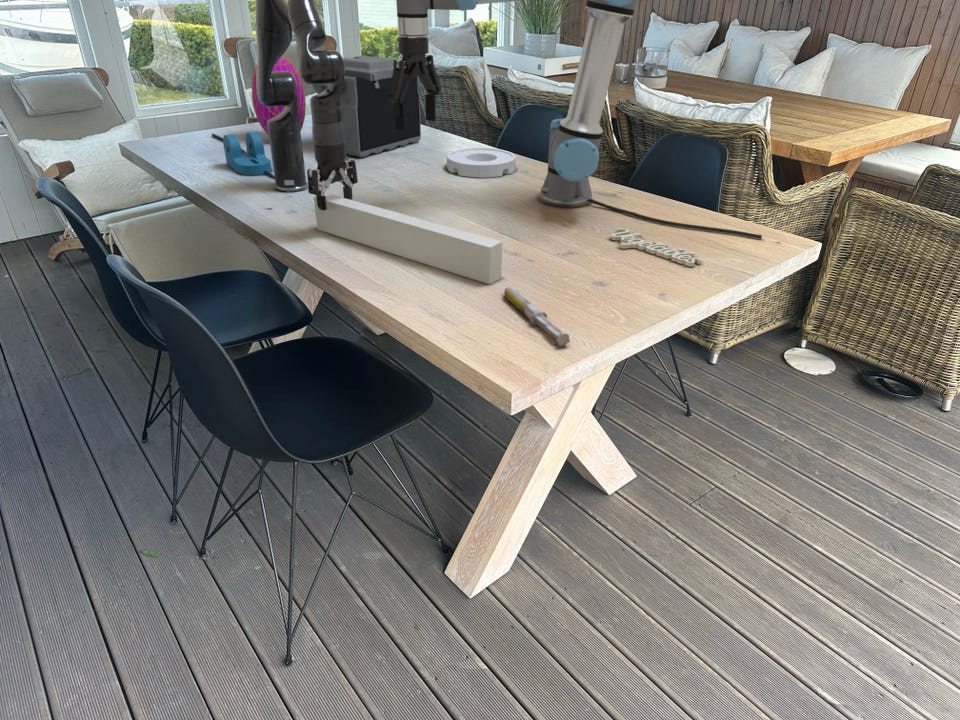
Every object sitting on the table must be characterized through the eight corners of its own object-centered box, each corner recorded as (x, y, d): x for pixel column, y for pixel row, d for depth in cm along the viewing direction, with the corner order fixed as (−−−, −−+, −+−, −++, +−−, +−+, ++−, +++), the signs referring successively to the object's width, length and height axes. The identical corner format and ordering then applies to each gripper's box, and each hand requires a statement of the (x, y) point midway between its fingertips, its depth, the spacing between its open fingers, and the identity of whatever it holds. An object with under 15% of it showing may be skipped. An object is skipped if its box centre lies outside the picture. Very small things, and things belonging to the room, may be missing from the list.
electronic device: (383, 133, 276) (378, 52, 261) (425, 141, 265) (422, 56, 250) (314, 150, 251) (304, 61, 235) (358, 160, 240) (350, 67, 224)
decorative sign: (596, 235, 174) (621, 227, 180) (596, 239, 175) (620, 230, 181) (684, 266, 157) (708, 256, 163) (684, 270, 158) (708, 260, 164)
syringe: (499, 294, 146) (500, 282, 144) (516, 291, 147) (516, 279, 146) (552, 349, 126) (553, 336, 125) (570, 345, 127) (571, 332, 126)
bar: (501, 278, 154) (502, 241, 149) (489, 284, 151) (490, 247, 146) (330, 225, 183) (326, 193, 178) (317, 229, 180) (313, 197, 175)
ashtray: (449, 158, 243) (449, 147, 241) (514, 159, 242) (515, 148, 240) (444, 176, 223) (444, 164, 221) (515, 178, 222) (516, 165, 220)
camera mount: (227, 164, 233) (221, 132, 227) (257, 160, 238) (252, 129, 233) (244, 176, 220) (239, 143, 215) (276, 172, 225) (271, 139, 220)
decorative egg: (293, 132, 276) (283, 50, 261) (319, 140, 264) (310, 56, 249) (249, 139, 265) (236, 54, 250) (273, 148, 253) (261, 60, 238)
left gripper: (340, 133, 173) (346, 196, 181) (295, 143, 163) (304, 209, 172) (361, 137, 169) (366, 201, 177) (316, 147, 159) (324, 215, 168)
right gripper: (429, 31, 181) (431, 115, 192) (369, 39, 162) (375, 131, 173) (453, 33, 177) (453, 118, 188) (394, 41, 159) (399, 135, 170)
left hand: (335, 205), depth 174 cm, fingers open, 8 cm apart
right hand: (416, 125), depth 181 cm, fingers open, 13 cm apart
